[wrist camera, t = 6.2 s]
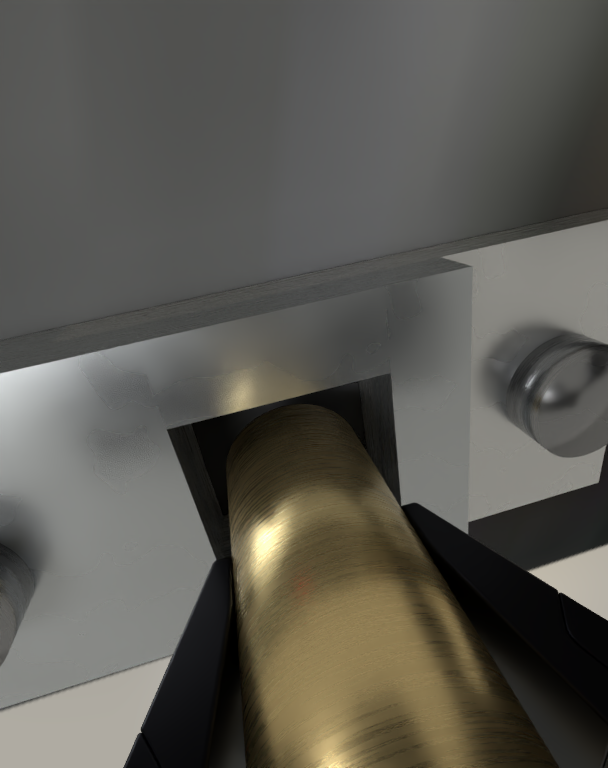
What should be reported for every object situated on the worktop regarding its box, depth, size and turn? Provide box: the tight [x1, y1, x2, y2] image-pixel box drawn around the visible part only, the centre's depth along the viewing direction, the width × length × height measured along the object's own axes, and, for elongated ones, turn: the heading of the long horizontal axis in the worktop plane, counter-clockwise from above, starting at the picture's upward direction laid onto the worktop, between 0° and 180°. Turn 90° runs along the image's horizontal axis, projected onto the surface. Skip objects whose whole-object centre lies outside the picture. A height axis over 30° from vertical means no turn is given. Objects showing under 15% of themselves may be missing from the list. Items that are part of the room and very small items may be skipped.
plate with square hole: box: [0, 208, 608, 708], centre depth 12 cm, size 23×10×4 cm, turn 100°
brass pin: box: [226, 404, 560, 768], centre depth 8 cm, size 4×4×9 cm
